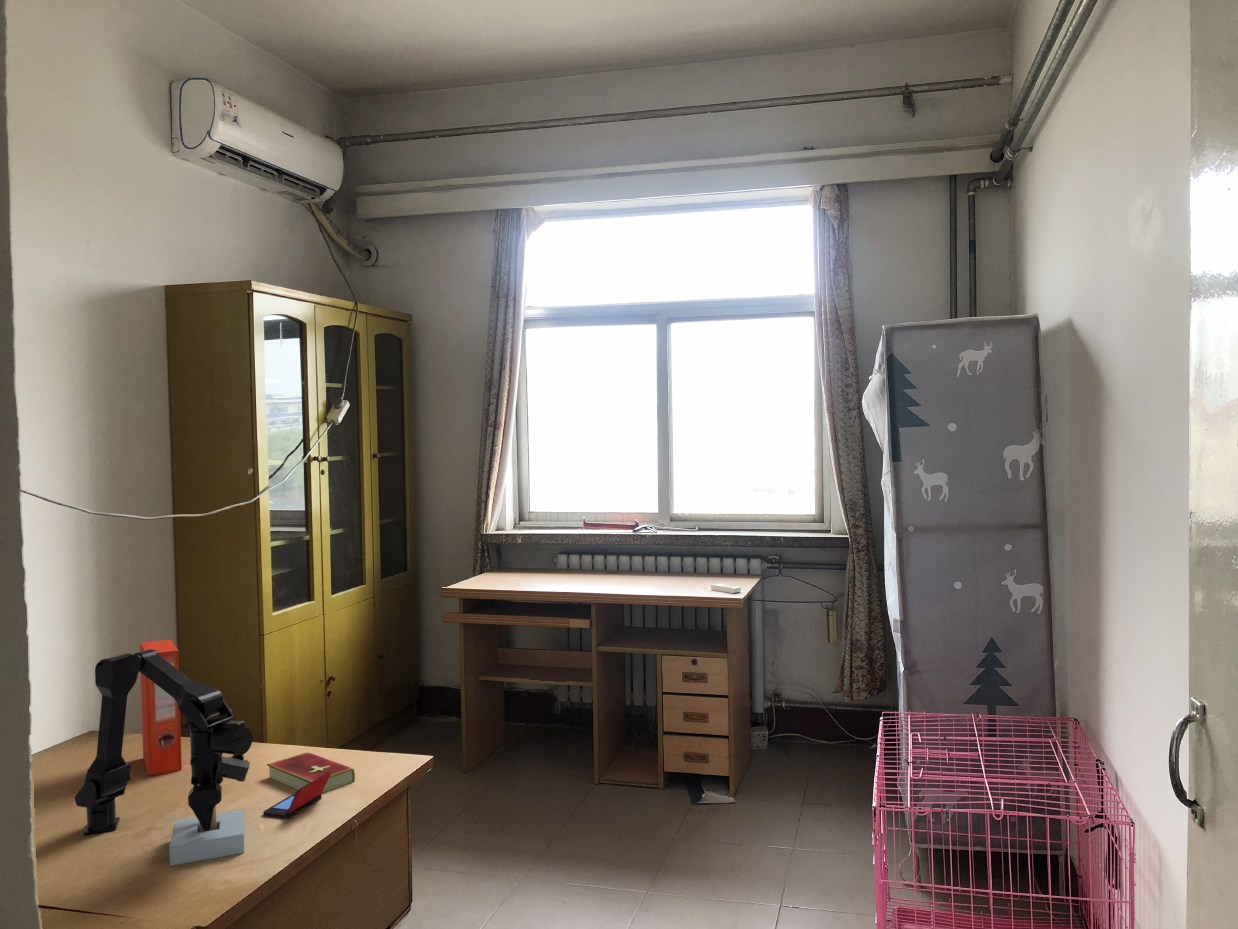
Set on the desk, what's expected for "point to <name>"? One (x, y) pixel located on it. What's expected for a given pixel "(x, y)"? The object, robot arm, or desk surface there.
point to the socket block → (207, 838)
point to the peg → (213, 822)
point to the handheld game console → (299, 799)
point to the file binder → (160, 717)
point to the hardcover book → (310, 771)
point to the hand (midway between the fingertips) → (208, 822)
